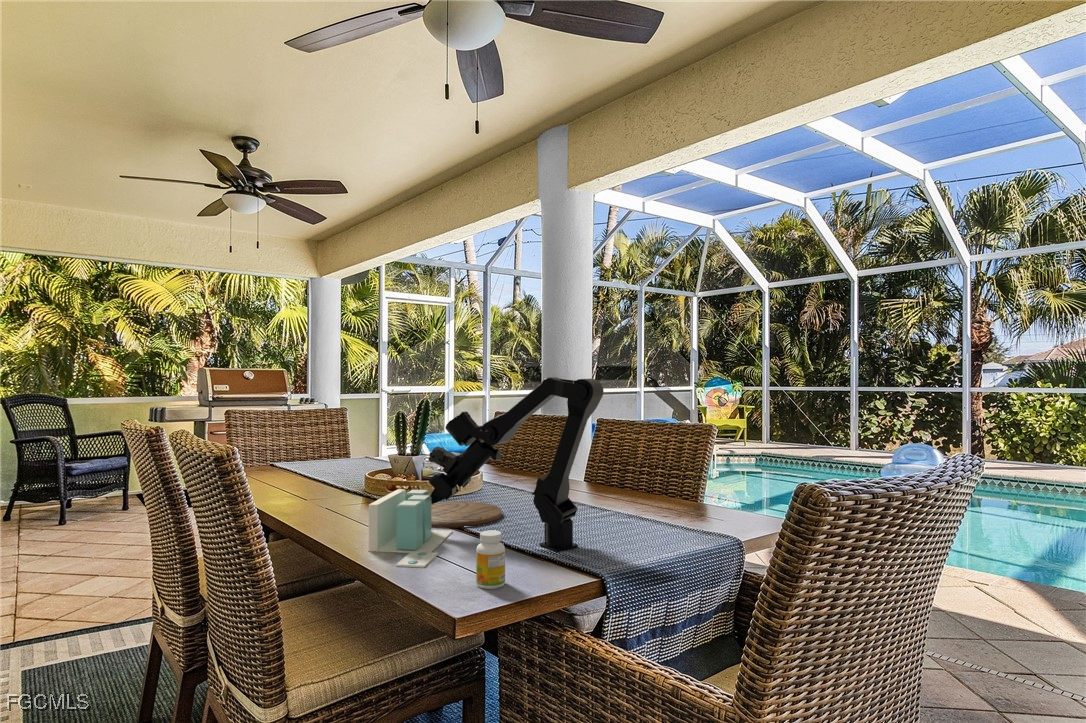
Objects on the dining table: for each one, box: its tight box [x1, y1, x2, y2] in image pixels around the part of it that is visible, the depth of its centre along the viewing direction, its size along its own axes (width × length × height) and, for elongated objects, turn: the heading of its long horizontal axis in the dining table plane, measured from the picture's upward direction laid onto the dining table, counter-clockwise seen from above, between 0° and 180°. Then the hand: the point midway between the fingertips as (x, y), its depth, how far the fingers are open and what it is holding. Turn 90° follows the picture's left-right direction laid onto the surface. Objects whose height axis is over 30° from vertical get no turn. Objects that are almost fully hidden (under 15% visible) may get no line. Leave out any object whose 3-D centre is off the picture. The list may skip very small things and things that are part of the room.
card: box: [395, 552, 439, 568], centre depth 135 cm, size 6×9×1 cm, turn 172°
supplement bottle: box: [475, 529, 506, 590], centre depth 120 cm, size 5×5×10 cm
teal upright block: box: [407, 495, 432, 542], centre depth 150 cm, size 4×4×10 cm
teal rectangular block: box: [406, 489, 430, 501], centre depth 157 cm, size 4×4×10 cm
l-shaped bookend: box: [368, 488, 454, 554], centre depth 150 cm, size 14×18×10 cm
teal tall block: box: [396, 501, 423, 550], centre depth 143 cm, size 4×4×10 cm
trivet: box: [431, 501, 503, 529], centre depth 175 cm, size 25×25×2 cm
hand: (427, 503), depth 156 cm, fingers closed, pressing on teal rectangular block
